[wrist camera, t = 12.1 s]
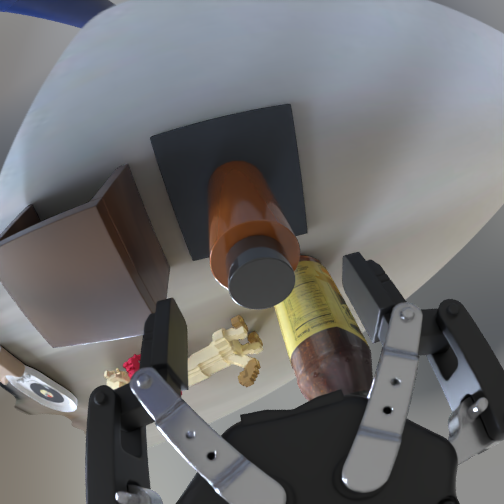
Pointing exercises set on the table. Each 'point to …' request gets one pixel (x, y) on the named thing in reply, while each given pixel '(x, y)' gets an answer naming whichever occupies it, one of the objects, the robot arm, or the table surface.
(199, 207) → the mat
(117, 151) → the table surface
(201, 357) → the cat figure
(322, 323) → the sauce bottle
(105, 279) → the brown open box
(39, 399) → the record player
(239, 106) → the table surface
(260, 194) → the spice bottle
